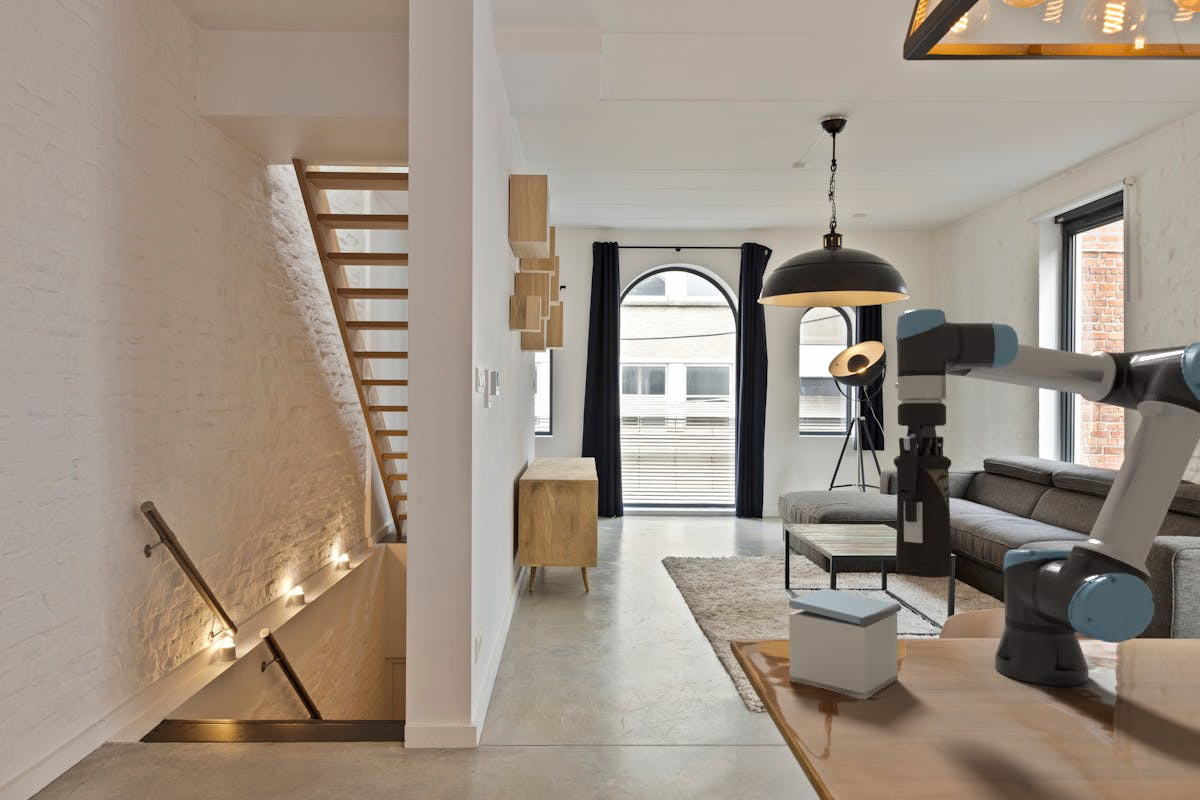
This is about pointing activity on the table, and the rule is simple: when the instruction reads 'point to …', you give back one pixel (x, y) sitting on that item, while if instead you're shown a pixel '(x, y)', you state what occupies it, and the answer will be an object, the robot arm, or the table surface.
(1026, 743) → the table surface
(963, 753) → the table surface
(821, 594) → the lid
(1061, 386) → the robot arm
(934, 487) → the container
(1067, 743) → the table surface
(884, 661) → the box
